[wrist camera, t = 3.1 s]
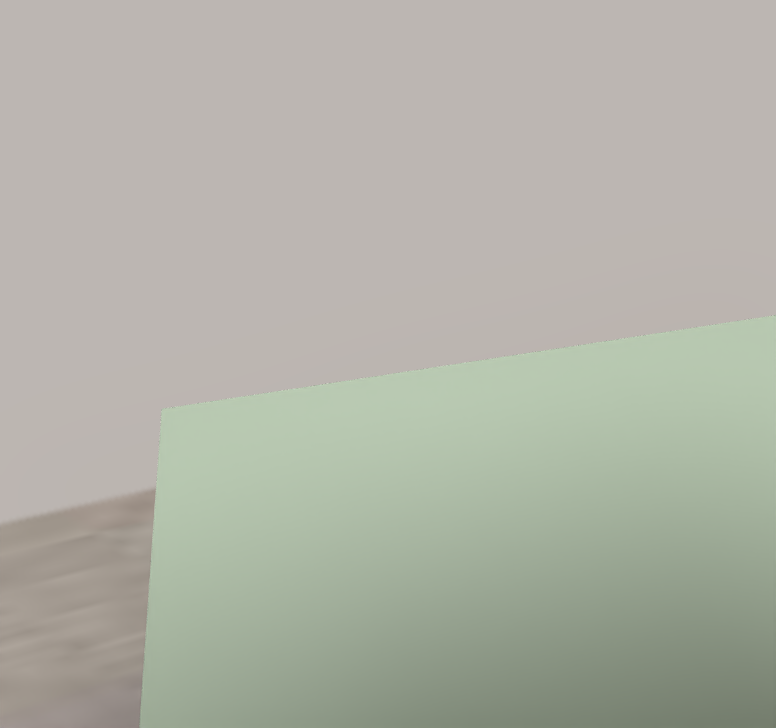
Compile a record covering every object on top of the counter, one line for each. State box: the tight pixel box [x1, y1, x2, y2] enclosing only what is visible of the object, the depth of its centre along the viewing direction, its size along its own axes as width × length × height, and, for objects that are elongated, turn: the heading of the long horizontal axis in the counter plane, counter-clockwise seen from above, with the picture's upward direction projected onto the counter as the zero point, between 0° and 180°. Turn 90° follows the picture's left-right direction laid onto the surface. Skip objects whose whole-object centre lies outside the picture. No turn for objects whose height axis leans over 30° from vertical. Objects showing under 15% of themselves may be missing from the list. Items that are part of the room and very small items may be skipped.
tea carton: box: [139, 315, 776, 728], centre depth 8 cm, size 6×6×12 cm
